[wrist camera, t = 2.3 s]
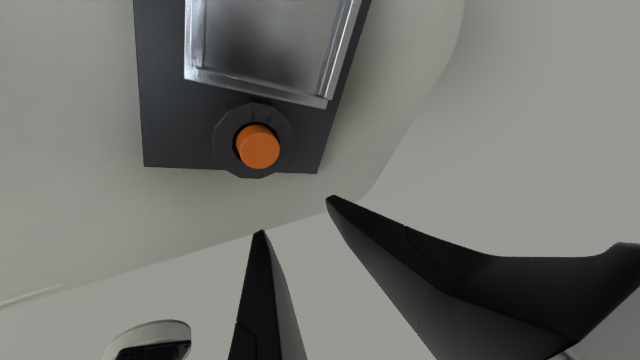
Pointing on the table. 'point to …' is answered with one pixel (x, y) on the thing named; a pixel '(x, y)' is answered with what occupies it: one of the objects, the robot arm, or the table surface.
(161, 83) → the scale
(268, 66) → the brushed steel platform
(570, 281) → the robot arm
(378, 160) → the table surface
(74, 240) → the table surface
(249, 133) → the button
